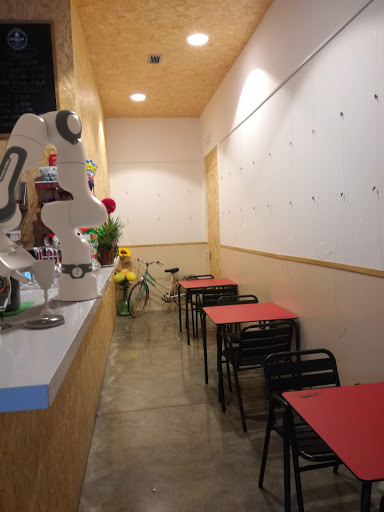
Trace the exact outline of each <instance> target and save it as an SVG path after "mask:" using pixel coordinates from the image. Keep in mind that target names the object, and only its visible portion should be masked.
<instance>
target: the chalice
mask: <svg viewBox="0 0 384 512" xmlns="http://www.w3.org/2000/svg"><path fill="white" fill-rule="evenodd" d="M56 261H57V260H56V259H35V261H32V262H33V263H34V270H35V278H36V279H35V278H34V279H35V280H36V283H37V284H38V287H39V288H40V289H41V290H43V291H44V292H43V293H44V294H43V298H44V301H43V303H44V305H45V306H44V308H43V309H41V310H40V313H39V316H41V315H56V314H55V312H54V310H53V309H52V308H50V307H49V303H50V300H49V296H50V295H49V293H48V291H49V290H50V289H51V288H52V285H53V284H54V280H55V276H56V269H55V268H56V267H55V263H56Z"/></svg>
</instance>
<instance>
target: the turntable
mask: <svg viewBox="0 0 384 512" xmlns="http://www.w3.org/2000/svg"><path fill="white" fill-rule="evenodd" d="M65 322H66V320H65V316H64V315H62V314H55V315H41V316H40V315H36V316H31V317H28V318H27V319H25V321H24V328H26V329H28V330H29V329H30V330H43V329H50V328H56V327H59V326H62V325H64V324H65Z"/></svg>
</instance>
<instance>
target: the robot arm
mask: <svg viewBox="0 0 384 512" xmlns="http://www.w3.org/2000/svg"><path fill="white" fill-rule="evenodd" d="M82 130H83V126H82V121H81V119H80V117H79V115H77V113H76V112H75V111H73V110H69V109H61V110H56V111H49V112H46V113H44V114H41V115H36V114H35V113H24V114H22V115H21V116H20V117H19V119H17V121H16V123H15V125H14V127H13V129H12V131H11V133H10V136H9V138H8V141H7V146H6V150H5V152H4V155H3V158H2V159H1V162H0V276H1V277H2V278H9V277H12V278H13V279H14V280H16V281H18V282H20V283H21V284H22V285H26V284H28V283H29V282H30V279H29V278H28V277H27V276H25V275H24V274H25V273H29V274H31V275H32V277H33V279H34V280H36V278H35V270H34V263H33V262H32V261H35V260H36V258H34V257H33V255H32V254H31V253H30V252H29V251H27V249H25V248H24V245H23V244H22V243H21V242H19V241H17V240H14V239H12V238H10V237H8V236H7V234H9V233H10V232H12V231H13V230H15V229H16V228H18V227H19V225H20V224H21V222H22V219H23V217H22V216H23V214H22V212H21V210H20V207H19V205H18V204H17V199H16V188H17V186H18V183H19V181H20V178H21V176H22V173H23V171H30V170H33V169H35V168H37V166H38V164H39V163H40V161H41V159H42V156H43V153H44V150H45V146H49V145H51V146H52V145H54V147H55V149H56V171H57V172H56V173H57V174H56V176H57V183H58V186H59V187H60V188H61V189H62V190H64V191H66V192H68V193H70V194H71V195H72V197H73V199H72V200H56V201H52V202H48V203H45V204H44V205H43V206H42V208H41V212H40V219H41V221H42V223H43V224H44V225H45V227H47V228H48V229H50V230H51V231H52V233H54V235H55V236H56V238H57V240H58V243H59V245H60V253H61V265H60V271H61V274H60V277H59V278H57V295H55V296H54V297H53V301H60V302H61V301H63V302H78V301H80V302H81V301H88V300H93V299H96V298H102V297H103V293H101V292H99V291H98V278H97V276H96V275H95V274H94V273H93V262H92V256H91V253H92V252H91V244H90V242H89V241H88V240H87V239H85V238H83V237H81V236H79V235H78V233H77V232H76V229H93V228H98V227H101V226H103V225H104V224H105V223H106V221H107V218H108V210H107V208H106V205H105V204H104V203H103V202H102V201H100V200H99V199H98V198H97V197H96V196H95V195H94V194H93V192H92V190H91V188H90V186H89V181H88V173H87V172H88V170H87V169H88V167H87V156H86V153H85V151H86V150H85V147H84V143H83V141H82V139H81V137H82Z"/></svg>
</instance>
